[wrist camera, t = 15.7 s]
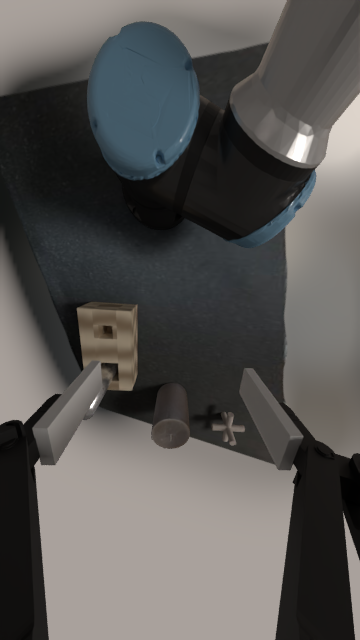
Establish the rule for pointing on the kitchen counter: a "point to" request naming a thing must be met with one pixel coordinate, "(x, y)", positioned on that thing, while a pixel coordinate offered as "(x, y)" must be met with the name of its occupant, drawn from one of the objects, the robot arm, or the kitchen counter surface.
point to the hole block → (110, 339)
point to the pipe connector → (228, 428)
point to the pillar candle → (171, 417)
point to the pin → (107, 377)
